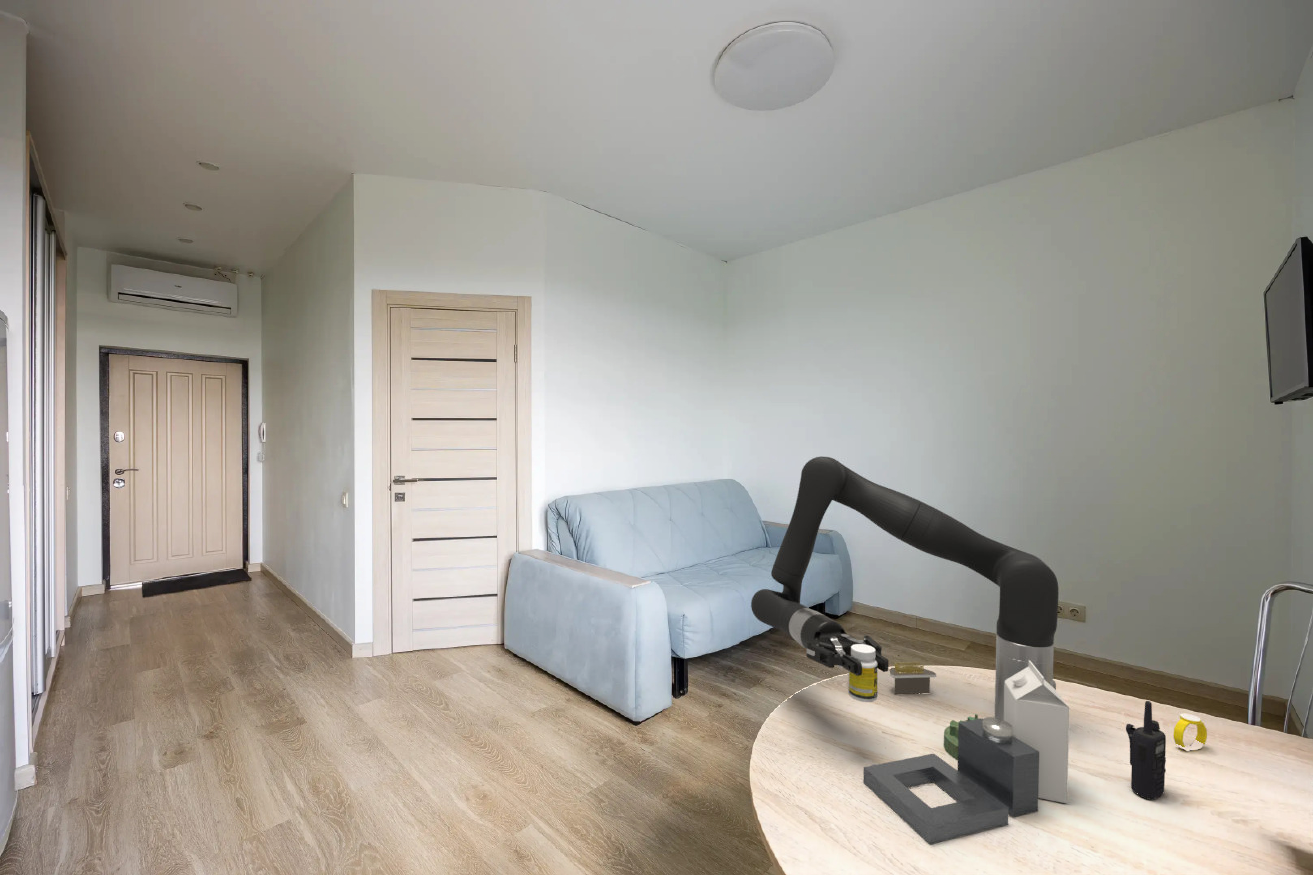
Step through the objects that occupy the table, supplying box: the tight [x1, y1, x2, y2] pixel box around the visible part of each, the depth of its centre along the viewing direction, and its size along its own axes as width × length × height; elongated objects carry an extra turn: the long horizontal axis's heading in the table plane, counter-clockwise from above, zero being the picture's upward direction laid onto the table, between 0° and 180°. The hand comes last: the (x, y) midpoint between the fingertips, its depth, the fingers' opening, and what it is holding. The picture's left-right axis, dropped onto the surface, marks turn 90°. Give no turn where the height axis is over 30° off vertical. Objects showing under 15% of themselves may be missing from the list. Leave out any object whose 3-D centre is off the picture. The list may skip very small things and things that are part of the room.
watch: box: [1172, 712, 1208, 747], centre depth 101 cm, size 6×3×6 cm, turn 102°
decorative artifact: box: [943, 713, 982, 761], centre depth 98 cm, size 10×7×10 cm
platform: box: [888, 661, 937, 696], centre depth 121 cm, size 12×18×7 cm, turn 95°
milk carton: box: [1004, 660, 1070, 804], centre depth 89 cm, size 7×7×19 cm
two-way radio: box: [1125, 700, 1167, 800], centre depth 89 cm, size 6×4×15 cm
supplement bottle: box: [847, 644, 878, 703], centre depth 96 cm, size 5×5×8 cm
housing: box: [863, 716, 1039, 845], centre depth 86 cm, size 21×14×11 cm, turn 107°
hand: (873, 667), depth 94 cm, fingers closed on supplement bottle, 4 cm apart
